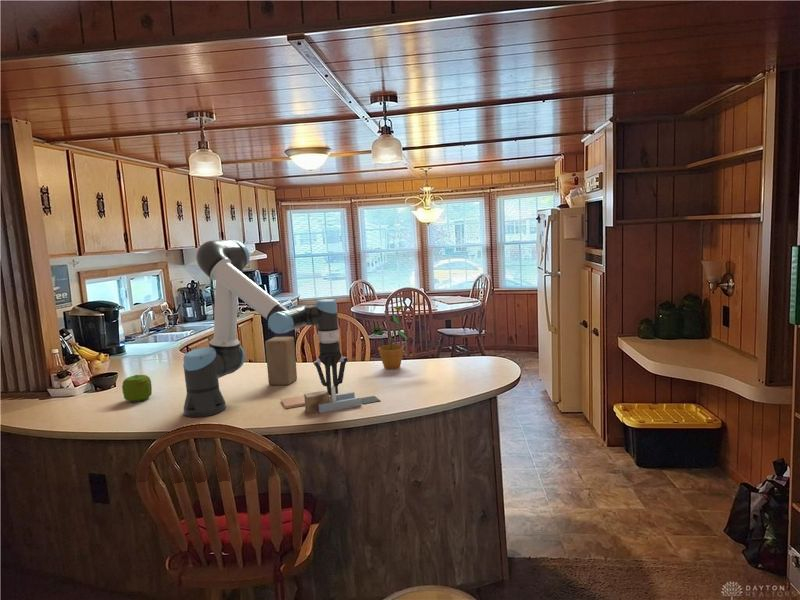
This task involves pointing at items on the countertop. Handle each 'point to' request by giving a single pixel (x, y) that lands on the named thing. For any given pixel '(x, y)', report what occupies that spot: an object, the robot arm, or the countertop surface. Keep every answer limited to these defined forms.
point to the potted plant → (391, 346)
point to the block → (315, 400)
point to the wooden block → (281, 360)
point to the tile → (293, 401)
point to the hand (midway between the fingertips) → (333, 402)
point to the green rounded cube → (137, 388)
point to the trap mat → (369, 400)
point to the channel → (340, 402)
